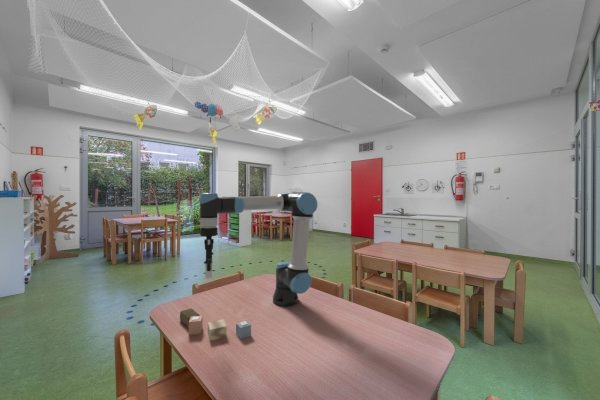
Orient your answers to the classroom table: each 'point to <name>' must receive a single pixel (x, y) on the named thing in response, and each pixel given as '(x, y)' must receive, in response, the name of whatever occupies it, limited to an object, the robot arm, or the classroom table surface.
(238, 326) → the slate block
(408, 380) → the classroom table surface
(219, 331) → the oak block
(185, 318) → the stone block
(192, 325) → the terracotta block
